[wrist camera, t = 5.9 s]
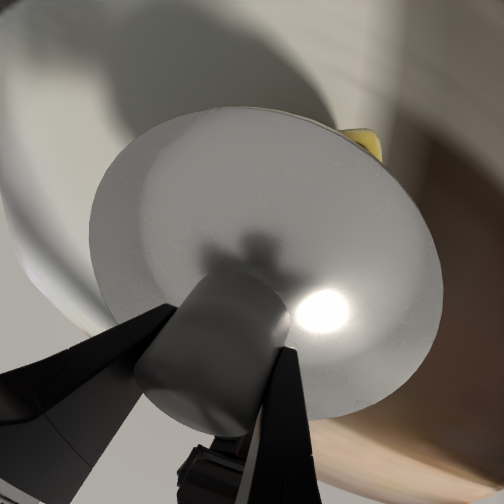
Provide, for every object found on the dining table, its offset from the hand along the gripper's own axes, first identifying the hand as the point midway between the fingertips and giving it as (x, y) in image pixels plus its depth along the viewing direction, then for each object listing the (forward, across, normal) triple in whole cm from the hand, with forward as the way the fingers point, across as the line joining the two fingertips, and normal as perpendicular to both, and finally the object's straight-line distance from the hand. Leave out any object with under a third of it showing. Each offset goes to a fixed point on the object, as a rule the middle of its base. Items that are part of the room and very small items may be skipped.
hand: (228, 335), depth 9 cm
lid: (+2, 0, 0) cm, 2 cm away
